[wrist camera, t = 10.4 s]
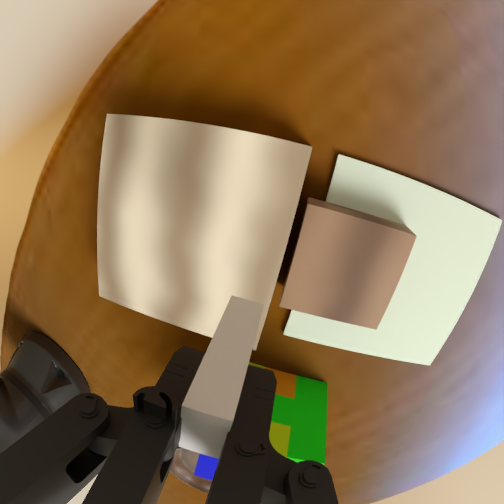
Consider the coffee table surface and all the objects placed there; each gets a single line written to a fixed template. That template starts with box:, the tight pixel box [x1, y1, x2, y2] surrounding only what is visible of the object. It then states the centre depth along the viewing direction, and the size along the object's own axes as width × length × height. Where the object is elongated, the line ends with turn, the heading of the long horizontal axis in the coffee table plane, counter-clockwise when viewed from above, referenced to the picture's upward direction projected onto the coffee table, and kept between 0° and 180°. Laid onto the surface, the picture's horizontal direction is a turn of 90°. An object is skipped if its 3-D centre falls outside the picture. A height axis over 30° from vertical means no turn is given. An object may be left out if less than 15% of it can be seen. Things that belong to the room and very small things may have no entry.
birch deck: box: [97, 114, 312, 351], centre depth 22 cm, size 15×16×4 cm
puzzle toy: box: [194, 362, 327, 481], centre depth 25 cm, size 10×10×10 cm
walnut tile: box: [279, 197, 417, 330], centre depth 21 cm, size 8×8×2 cm
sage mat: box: [283, 154, 502, 365], centre depth 22 cm, size 16×16×1 cm
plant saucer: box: [170, 447, 212, 493], centre depth 37 cm, size 21×21×3 cm
